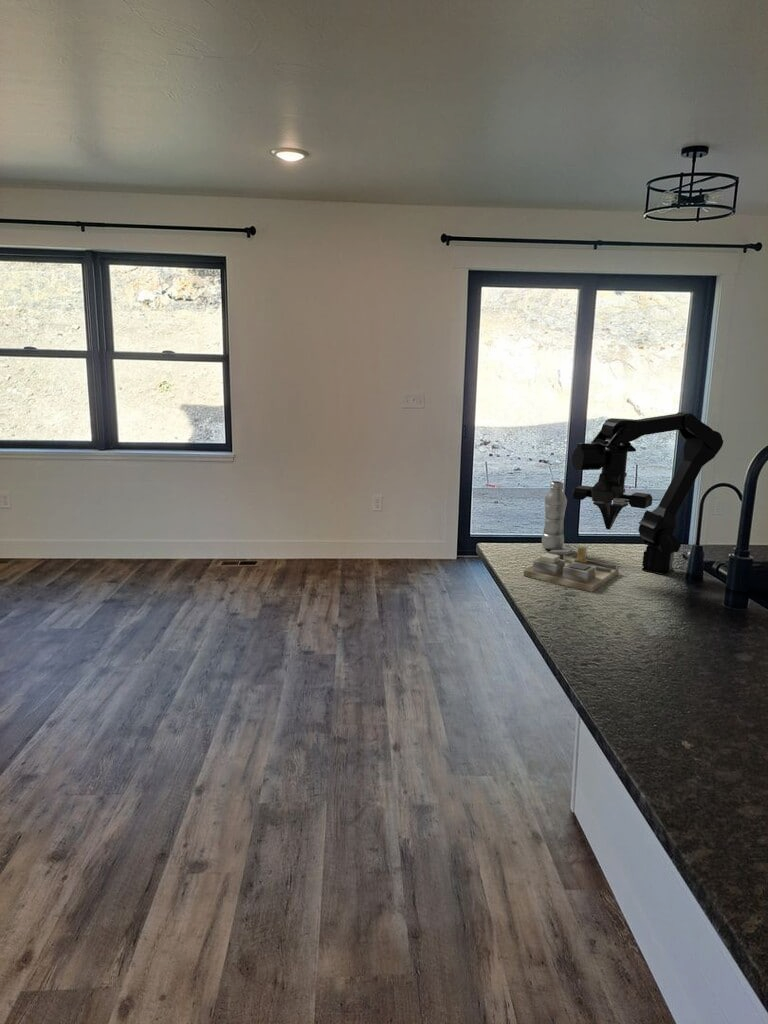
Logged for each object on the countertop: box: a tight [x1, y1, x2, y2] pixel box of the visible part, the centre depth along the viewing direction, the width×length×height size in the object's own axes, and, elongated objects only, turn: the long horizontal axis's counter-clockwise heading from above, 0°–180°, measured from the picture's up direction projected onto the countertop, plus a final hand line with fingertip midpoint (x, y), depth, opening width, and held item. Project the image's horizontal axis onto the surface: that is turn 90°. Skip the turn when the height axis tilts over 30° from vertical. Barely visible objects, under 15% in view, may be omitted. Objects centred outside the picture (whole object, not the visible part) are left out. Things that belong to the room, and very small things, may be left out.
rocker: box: [547, 549, 573, 555], centre depth 174 cm, size 6×3×1 cm, turn 51°
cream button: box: [539, 552, 560, 564], centre depth 164 cm, size 4×4×2 cm
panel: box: [523, 554, 620, 593], centre depth 166 cm, size 18×18×4 cm
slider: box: [574, 546, 589, 564], centre depth 170 cm, size 3×2×4 cm
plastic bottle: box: [541, 480, 568, 551], centre depth 187 cm, size 6×7×20 cm
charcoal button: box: [570, 563, 590, 571], centre depth 159 cm, size 4×4×2 cm
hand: (608, 529), depth 165 cm, fingers closed
